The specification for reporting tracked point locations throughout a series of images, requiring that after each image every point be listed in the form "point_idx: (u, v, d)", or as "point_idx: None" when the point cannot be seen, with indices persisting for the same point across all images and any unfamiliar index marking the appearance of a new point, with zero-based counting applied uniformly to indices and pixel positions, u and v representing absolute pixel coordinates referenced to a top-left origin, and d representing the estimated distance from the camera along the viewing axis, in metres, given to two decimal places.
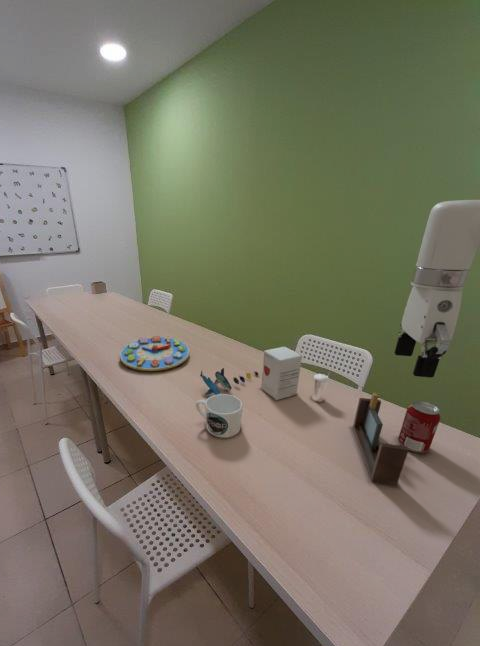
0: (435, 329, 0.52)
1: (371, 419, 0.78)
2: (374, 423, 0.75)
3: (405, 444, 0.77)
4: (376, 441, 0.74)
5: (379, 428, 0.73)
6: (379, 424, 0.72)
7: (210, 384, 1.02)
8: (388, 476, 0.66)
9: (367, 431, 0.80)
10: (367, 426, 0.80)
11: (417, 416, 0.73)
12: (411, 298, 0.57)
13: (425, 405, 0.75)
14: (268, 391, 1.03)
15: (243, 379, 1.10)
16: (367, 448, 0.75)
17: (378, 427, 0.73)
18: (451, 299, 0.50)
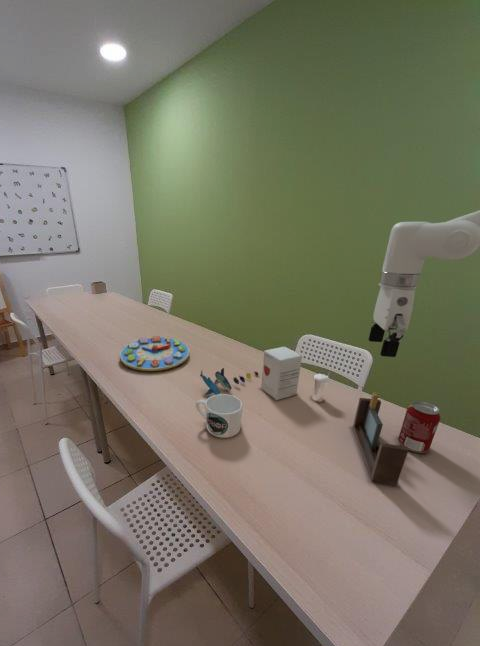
0: (395, 319, 0.67)
1: (371, 419, 0.78)
2: (374, 423, 0.75)
3: (405, 444, 0.77)
4: (376, 441, 0.74)
5: (379, 428, 0.73)
6: (379, 424, 0.72)
7: (210, 384, 1.02)
8: (388, 476, 0.66)
9: (367, 431, 0.80)
10: (367, 426, 0.80)
11: (417, 416, 0.73)
12: (379, 295, 0.73)
13: (425, 405, 0.75)
14: (268, 391, 1.03)
15: (243, 379, 1.10)
16: (367, 448, 0.75)
17: (378, 427, 0.73)
18: (406, 296, 0.66)
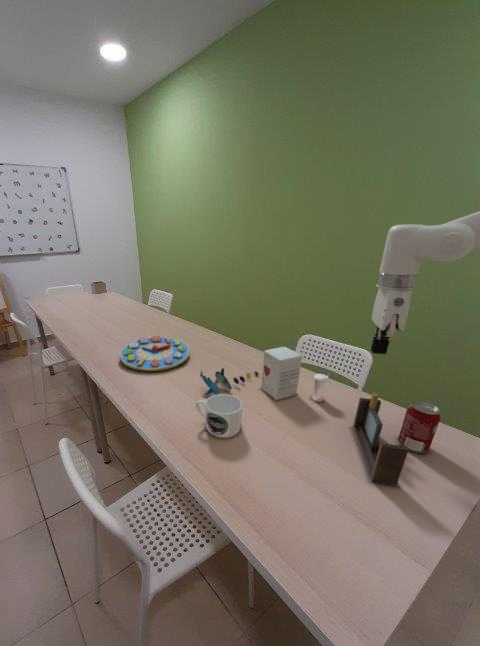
0: None
1: (371, 419, 0.78)
2: (374, 423, 0.75)
3: (405, 444, 0.77)
4: (376, 441, 0.74)
5: (379, 428, 0.73)
6: (379, 424, 0.72)
7: (210, 384, 1.02)
8: (388, 476, 0.66)
9: (367, 431, 0.80)
10: (367, 426, 0.80)
11: (416, 416, 0.73)
12: (377, 296, 0.75)
13: (425, 405, 0.75)
14: (268, 391, 1.03)
15: (243, 379, 1.10)
16: (367, 448, 0.75)
17: (378, 427, 0.73)
18: (403, 297, 0.67)
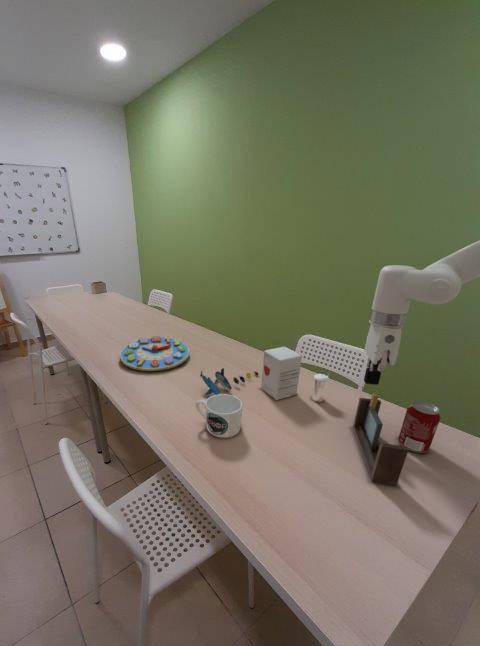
0: None
1: (371, 419, 0.78)
2: (374, 423, 0.75)
3: (405, 444, 0.77)
4: (376, 441, 0.74)
5: (379, 428, 0.73)
6: (379, 424, 0.72)
7: (210, 384, 1.02)
8: (388, 476, 0.66)
9: (367, 431, 0.80)
10: (367, 426, 0.80)
11: (416, 416, 0.73)
12: (370, 330, 0.78)
13: (425, 405, 0.75)
14: (268, 391, 1.03)
15: (243, 379, 1.10)
16: (367, 448, 0.75)
17: (378, 427, 0.73)
18: (393, 334, 0.71)
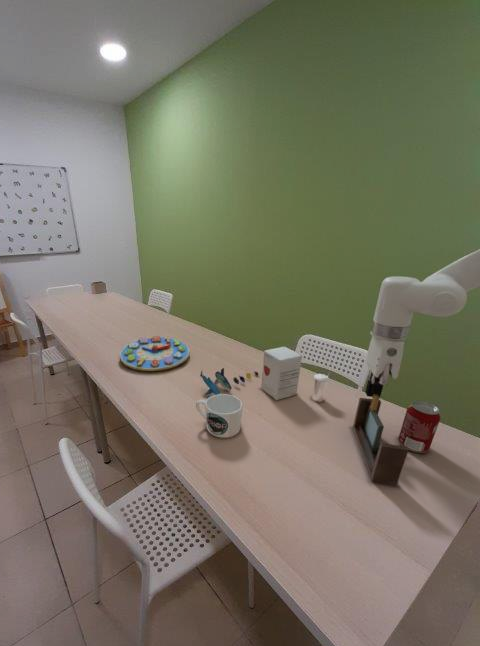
0: None
1: (372, 421, 0.77)
2: (375, 425, 0.75)
3: (405, 444, 0.77)
4: (377, 443, 0.74)
5: (380, 430, 0.72)
6: (380, 426, 0.72)
7: (210, 384, 1.02)
8: (388, 476, 0.66)
9: (368, 433, 0.79)
10: (368, 428, 0.79)
11: (417, 416, 0.73)
12: (371, 342, 0.76)
13: (425, 405, 0.75)
14: (268, 391, 1.03)
15: (243, 379, 1.10)
16: (367, 448, 0.75)
17: (379, 429, 0.72)
18: (396, 347, 0.69)
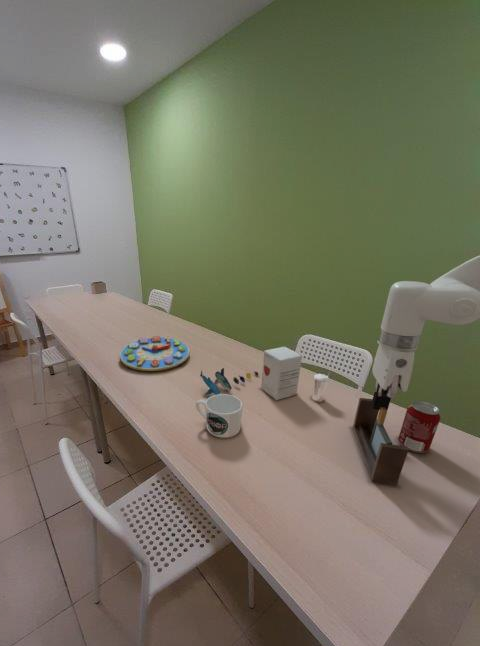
0: None
1: (379, 436, 0.72)
2: (382, 441, 0.69)
3: (405, 444, 0.77)
4: None
5: None
6: (388, 443, 0.66)
7: (210, 384, 1.02)
8: (388, 476, 0.66)
9: (374, 448, 0.74)
10: (374, 443, 0.74)
11: (417, 416, 0.73)
12: (378, 351, 0.71)
13: (425, 405, 0.75)
14: (268, 391, 1.03)
15: (243, 379, 1.10)
16: (367, 448, 0.75)
17: None
18: (406, 358, 0.63)
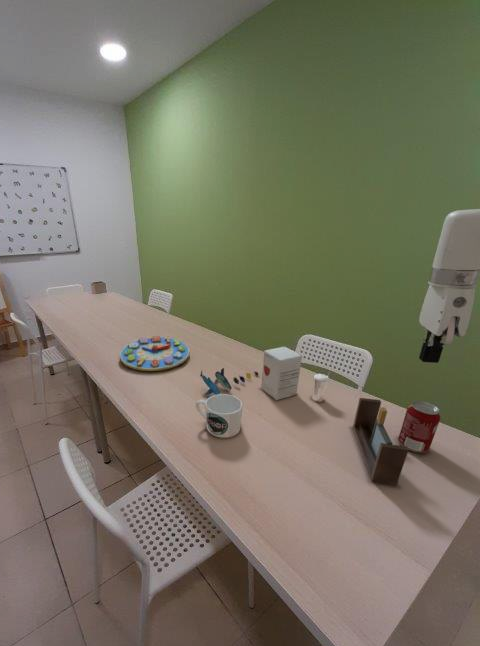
0: None
1: (379, 436, 0.72)
2: (383, 441, 0.69)
3: (405, 444, 0.77)
4: None
5: None
6: (388, 443, 0.66)
7: (210, 384, 1.02)
8: (388, 476, 0.66)
9: (374, 449, 0.74)
10: (374, 443, 0.74)
11: (417, 416, 0.73)
12: (428, 296, 0.64)
13: (425, 405, 0.75)
14: (268, 391, 1.03)
15: (243, 379, 1.10)
16: (367, 448, 0.75)
17: None
18: (465, 296, 0.57)
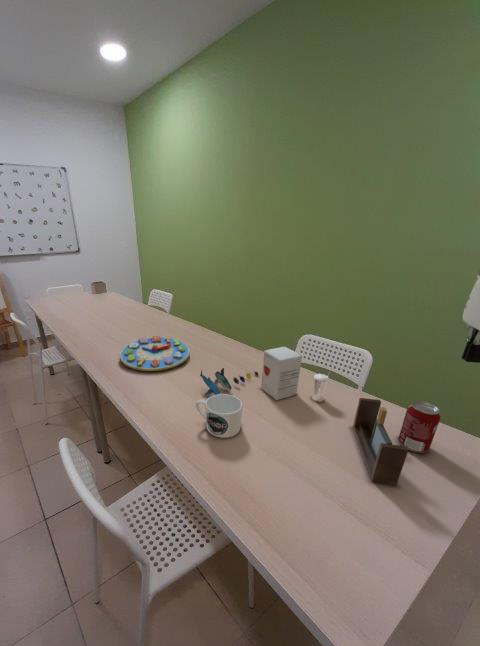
0: None
1: (379, 436, 0.72)
2: (383, 441, 0.69)
3: (405, 444, 0.77)
4: None
5: None
6: (388, 443, 0.66)
7: (210, 384, 1.02)
8: (388, 476, 0.66)
9: (374, 449, 0.74)
10: (374, 443, 0.74)
11: (417, 416, 0.73)
12: (476, 291, 0.60)
13: (425, 405, 0.75)
14: (268, 391, 1.03)
15: (243, 379, 1.10)
16: (367, 448, 0.75)
17: None
18: None
